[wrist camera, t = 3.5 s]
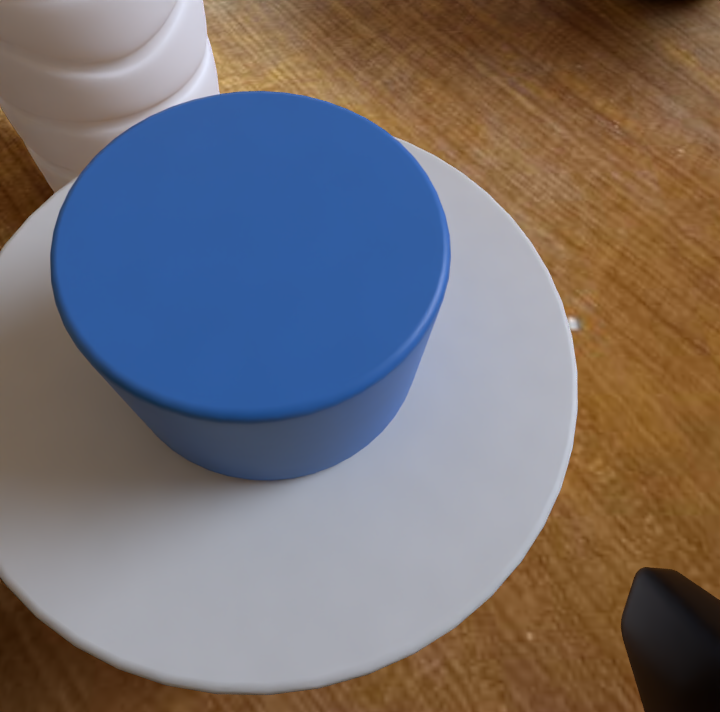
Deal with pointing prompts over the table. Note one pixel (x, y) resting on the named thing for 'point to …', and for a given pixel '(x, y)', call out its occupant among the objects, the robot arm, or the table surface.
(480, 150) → the table surface
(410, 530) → the detergent bottle
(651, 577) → the robot arm
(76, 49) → the water bottle
